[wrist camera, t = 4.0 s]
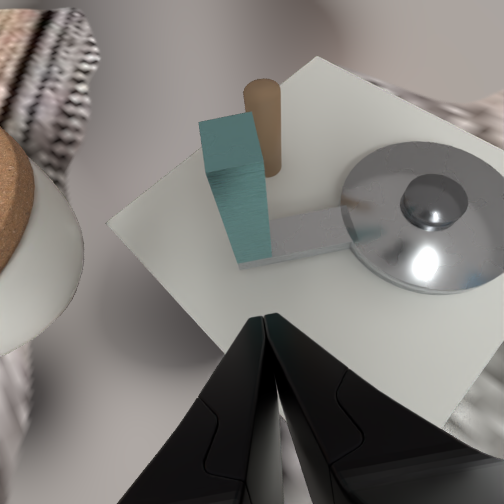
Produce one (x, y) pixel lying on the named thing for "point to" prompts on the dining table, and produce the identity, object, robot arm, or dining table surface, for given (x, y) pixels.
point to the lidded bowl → (33, 248)
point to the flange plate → (368, 211)
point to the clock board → (324, 265)
